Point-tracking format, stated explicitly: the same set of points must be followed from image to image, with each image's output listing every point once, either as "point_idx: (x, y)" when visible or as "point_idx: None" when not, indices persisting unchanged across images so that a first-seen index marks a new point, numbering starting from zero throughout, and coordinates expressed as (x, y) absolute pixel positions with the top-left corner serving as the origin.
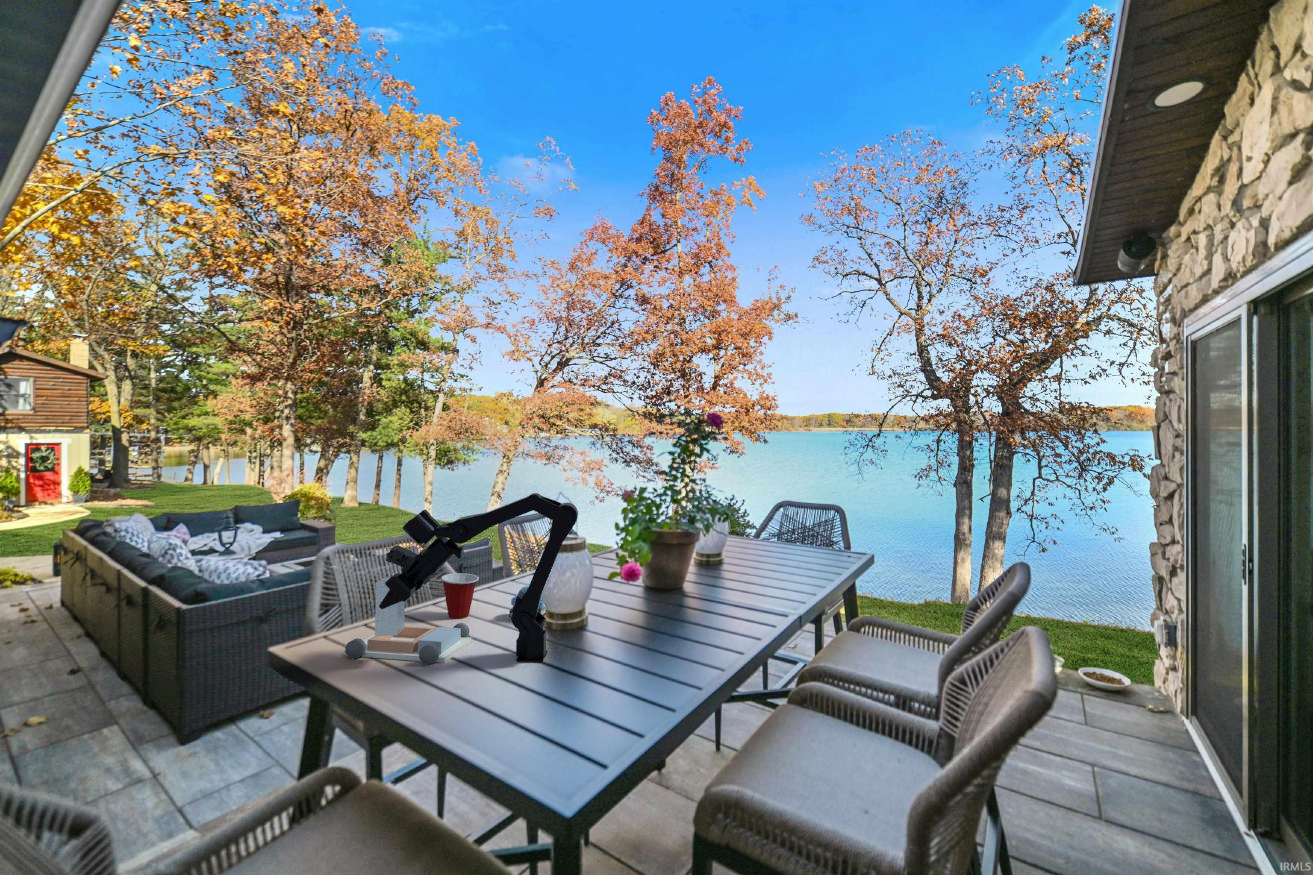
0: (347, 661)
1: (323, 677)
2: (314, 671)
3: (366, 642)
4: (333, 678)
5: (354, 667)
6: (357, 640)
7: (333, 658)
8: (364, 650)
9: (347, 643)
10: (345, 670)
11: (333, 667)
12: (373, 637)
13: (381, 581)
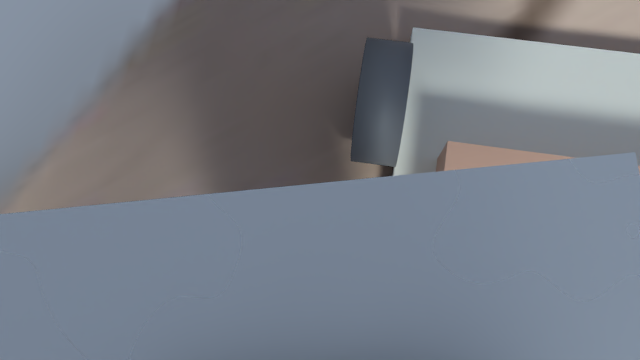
0: (321, 103)
1: (97, 94)
2: (178, 6)
3: (569, 88)
4: (81, 153)
5: (231, 189)
6: (373, 98)
7: (363, 4)
8: (379, 164)
9: (367, 41)
10: (189, 160)
11: (232, 73)
12: (496, 161)
13: (23, 347)
